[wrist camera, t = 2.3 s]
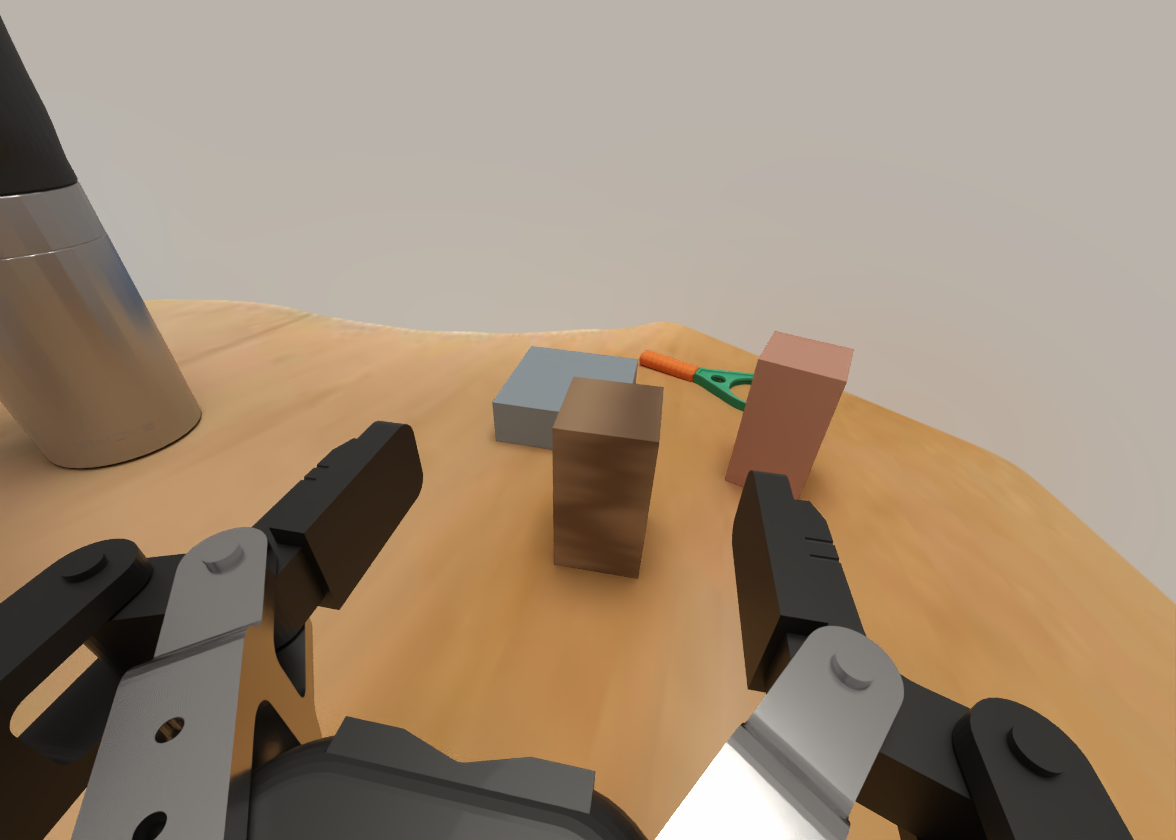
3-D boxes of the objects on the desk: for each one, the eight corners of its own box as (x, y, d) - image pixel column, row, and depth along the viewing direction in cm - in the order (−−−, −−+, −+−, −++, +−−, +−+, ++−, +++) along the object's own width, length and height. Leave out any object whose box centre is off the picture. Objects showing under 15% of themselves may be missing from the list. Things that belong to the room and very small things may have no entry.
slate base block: (496, 443, 37) (492, 402, 35) (532, 383, 45) (531, 346, 43) (619, 463, 36) (623, 421, 33) (633, 397, 44) (638, 359, 41)
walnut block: (554, 564, 27) (552, 428, 22) (571, 504, 31) (573, 376, 26) (638, 578, 27) (659, 442, 21) (644, 516, 31) (663, 387, 25)
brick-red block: (724, 480, 34) (758, 358, 28) (742, 444, 38) (775, 330, 32) (795, 506, 32) (846, 381, 26) (806, 466, 36) (854, 349, 30)
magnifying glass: (795, 397, 45) (800, 382, 44) (780, 427, 41) (785, 411, 40) (654, 355, 51) (656, 341, 50) (628, 376, 47) (630, 362, 46)
